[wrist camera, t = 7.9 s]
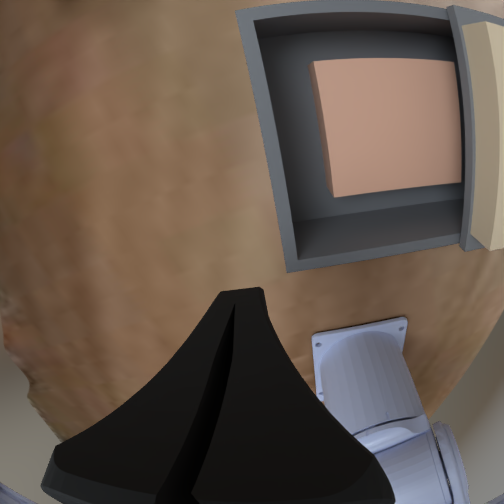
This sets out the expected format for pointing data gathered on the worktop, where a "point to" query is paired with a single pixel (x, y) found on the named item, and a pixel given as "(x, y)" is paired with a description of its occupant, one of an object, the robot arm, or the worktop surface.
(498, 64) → the lid
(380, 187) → the box
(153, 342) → the worktop surface
